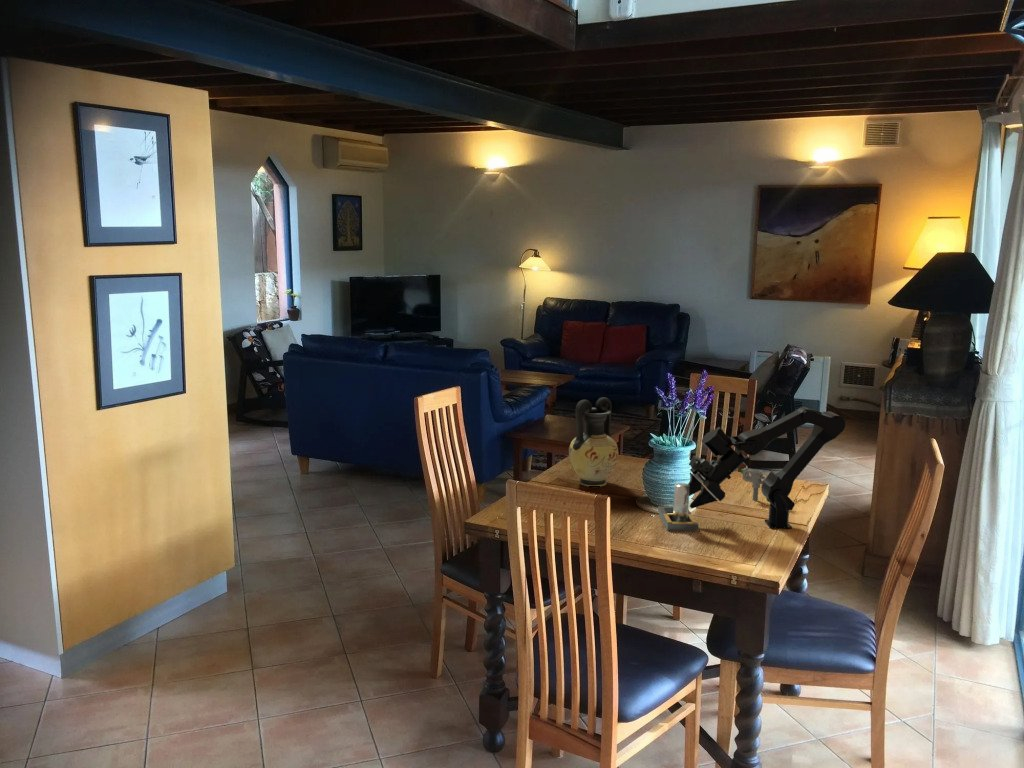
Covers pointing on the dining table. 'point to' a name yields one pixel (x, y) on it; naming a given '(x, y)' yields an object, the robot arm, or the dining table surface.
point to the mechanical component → (753, 479)
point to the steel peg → (681, 502)
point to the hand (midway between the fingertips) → (686, 502)
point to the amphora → (593, 443)
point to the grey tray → (676, 526)
